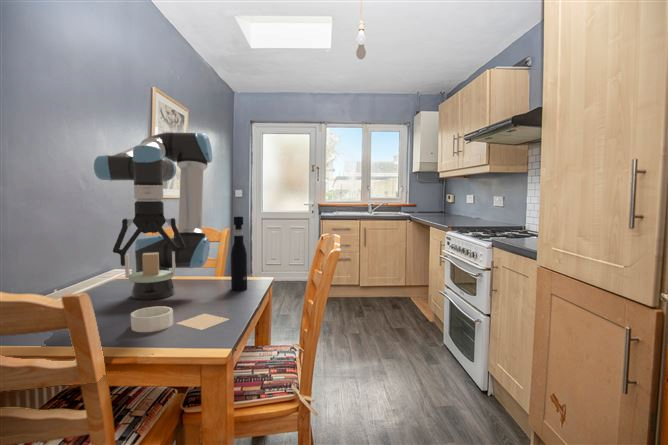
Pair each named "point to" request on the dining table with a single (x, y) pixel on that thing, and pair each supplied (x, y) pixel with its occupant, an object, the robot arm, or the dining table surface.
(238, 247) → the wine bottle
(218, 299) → the dining table surface
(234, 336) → the dining table surface
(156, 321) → the bowl
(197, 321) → the mat
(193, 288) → the dining table surface
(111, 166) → the robot arm
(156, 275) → the lid
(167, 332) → the dining table surface
